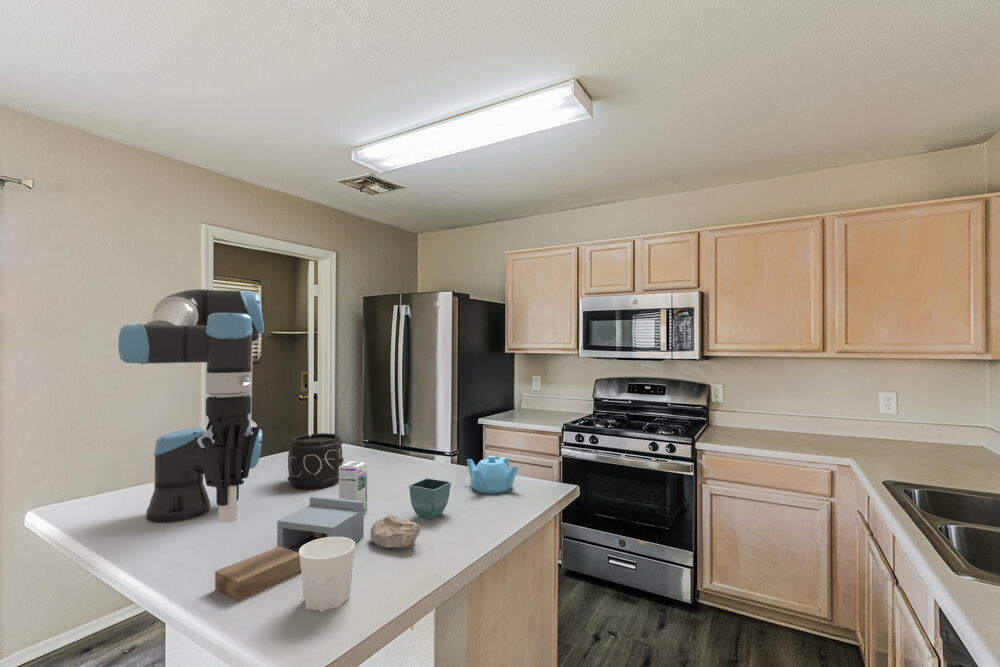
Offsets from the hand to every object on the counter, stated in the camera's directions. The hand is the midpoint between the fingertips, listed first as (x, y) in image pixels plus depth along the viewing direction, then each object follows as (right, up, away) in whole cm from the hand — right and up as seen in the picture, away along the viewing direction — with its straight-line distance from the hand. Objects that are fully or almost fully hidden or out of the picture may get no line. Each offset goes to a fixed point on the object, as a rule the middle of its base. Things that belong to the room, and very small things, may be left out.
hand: (227, 520), depth 91 cm
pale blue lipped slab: (+8, -16, +26) cm, 31 cm away
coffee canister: (-13, -17, +78) cm, 80 cm away
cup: (+18, -16, +1) cm, 24 cm away
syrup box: (+10, -16, +46) cm, 50 cm away
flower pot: (+31, -16, +46) cm, 58 cm away
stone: (+25, -16, +26) cm, 40 cm away
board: (+2, -16, +8) cm, 18 cm away
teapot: (+48, -17, +71) cm, 88 cm away
